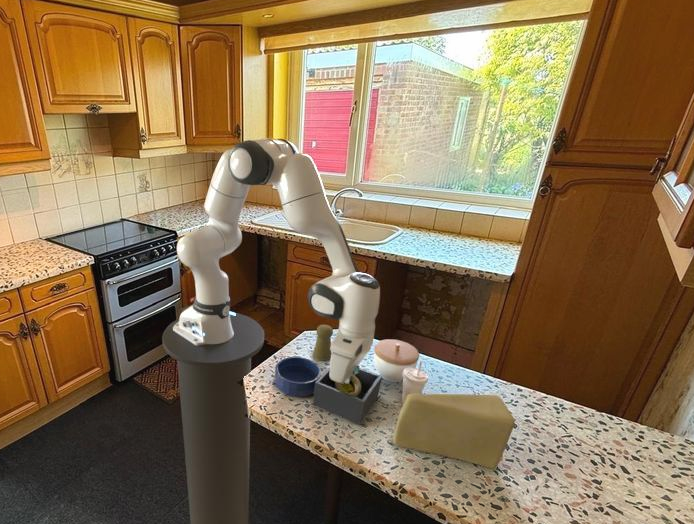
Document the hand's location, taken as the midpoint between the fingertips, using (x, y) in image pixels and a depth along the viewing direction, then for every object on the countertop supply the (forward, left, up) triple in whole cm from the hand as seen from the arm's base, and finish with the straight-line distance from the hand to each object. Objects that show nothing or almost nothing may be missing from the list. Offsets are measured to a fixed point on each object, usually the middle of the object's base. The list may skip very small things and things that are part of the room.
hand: (348, 378), depth 109 cm
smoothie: (+15, +10, -8) cm, 19 cm away
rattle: (+1, +1, -6) cm, 6 cm away
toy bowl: (-15, -1, -8) cm, 17 cm away
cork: (-15, +17, -8) cm, 24 cm away
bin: (0, 0, -8) cm, 8 cm away
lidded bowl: (+7, +20, -8) cm, 22 cm away
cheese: (+26, -3, -8) cm, 27 cm away
